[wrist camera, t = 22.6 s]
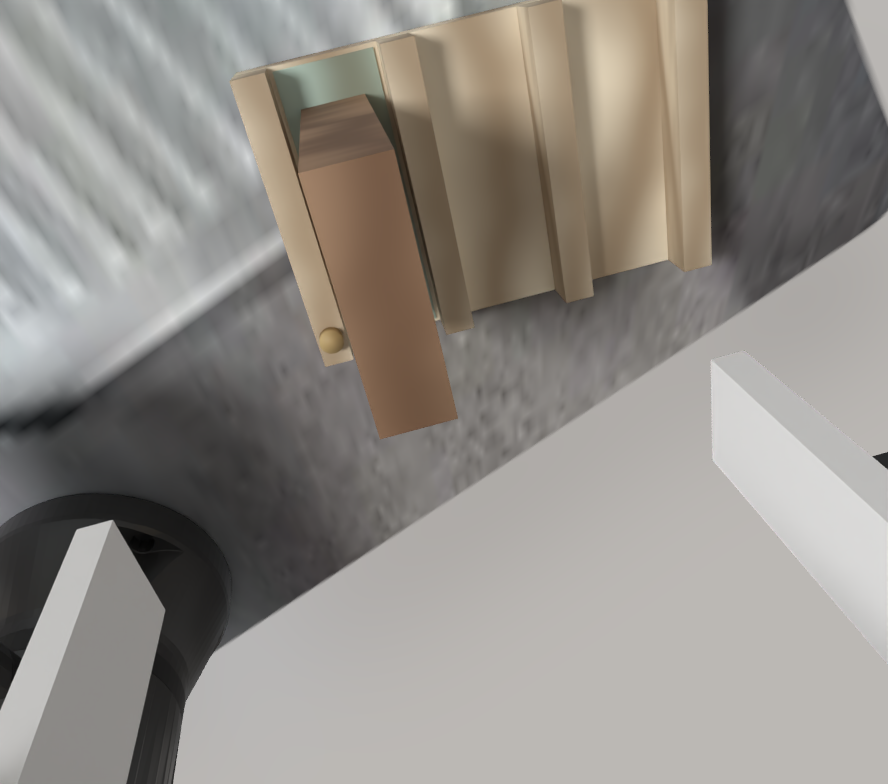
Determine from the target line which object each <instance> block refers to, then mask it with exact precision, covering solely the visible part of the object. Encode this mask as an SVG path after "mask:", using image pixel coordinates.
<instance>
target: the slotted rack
mask: <svg viewBox="0 0 888 784" xmlns="http://www.w3.org/2000/svg"><path fill="white" fill-rule="evenodd" d="M230 84H231V87H232V90H233V93H234V96H235V99H236V102H237V105H238V108H239V111H240V114H241V117H242V120H243V123H244V126H245V129H246V132H247V135H248V138H249V141H250V144H251V147H252V150H253V153H254V156H255V159H256V162H257V165H258V168H259V171H260V174H261V177H262V180H263V183H264V186H265V188H266V191H267V194H268V197H269V200H270V203H271V206H272V209H273V212H274V215H275V218H276V221H277V224H278V227H279V230H280V233H281V236H282V239H283V242H284V245H285V248H286V251H287V254H288V257H289V260H290V263H291V266H292V269H293V272H294V275H295V278H296V281H297V284H298V287H299V290H300V293H301V296H302V299H303V302H304V305H305V307H306V310H307V313H308V316H309V319H310V322H311V325H312V328H313V331H314V334H315V337H316V340H317V343H318V346H319V349H320V352H321V355H322V358H323V361H324V364H325V367H327V366H331V365H335V364H338V363H342V362H346V361H350V360H353V351H352V346H351V343H350V340H349V337H348V333H347V330H346V327H345V324H344V321H343V317H342V314H341V311H340V308H339V304H338V301H337V298H336V295H335V291H334V288H333V285H332V282H331V279H330V275H329V272H328V269H327V266H326V262H325V259H324V256H323V253H322V249H321V246H320V243H319V240H318V236H317V233H316V230H315V227H314V224H313V220H312V217H311V214H310V211H309V207H308V204H307V201H306V198H305V194H304V191H303V188H302V185H301V182H300V178H299V175H298V162H299V141H300V120H301V109H305V108H309V107H313V106H317V105H321V104H325V103H329V102H333V101H337V100H341V99H345V98H349V97H353V96H357V95H361V94H365V95H366V97H367V99H368V101H369V103H370V105H371V106H372V108H373V110H374V112H375V114H376V116H377V118H378V120H379V121H380V123H381V125H382V127H383V129H384V131H385V133H386V135H387V136H388V138H389V140H390V142H391V144H392V146H393V148H394V150H395V155H396V159H397V163H398V167H399V172H400V176H401V180H402V184H403V188H404V193H405V197H406V201H407V205H408V210H409V214H410V218H411V222H412V226H413V231H414V235H415V239H416V243H417V248H418V252H419V256H420V260H421V264H422V269H423V273H424V277H425V281H426V286H427V290H428V294H429V298H430V302H431V307H432V311H433V315H434V319H435V321H437V320H441V322H442V324H443V327H444V329H445V332H446V334H447V335H448V334H452V333H456V332H459V331H463V330H467V329H471V328H474V323H473V318H472V313H471V311H475V310H479V309H483V308H487V307H490V306H494V305H498V304H502V303H506V302H509V301H513V300H517V299H521V298H525V297H528V296H532V295H536V294H540V293H544V292H547V291H551V290H556V291H557V292H558V294H559V295H560V296H561V297H562V298H563V300H564V301H565V302H566V303H569V302H573V301H577V300H581V299H584V298H588V297H592V296H594V293H593V284H592V280H593V279H597V278H601V277H604V276H608V275H612V274H616V273H619V272H623V271H627V270H631V269H635V268H638V267H642V266H646V265H650V264H654V263H657V262H661V261H665V260H669V261H671V262H672V263H673V264H675V265H676V266H677V267H679V268H680V269H681V270H683V271H684V272H687V271H690V270H694V269H698V268H702V267H706V266H709V265H712V258H711V195H710V132H709V69H708V6H707V0H529V1H525V2H521V3H517V4H512V5H508V6H504V7H500V8H496V9H492V10H488V11H484V12H480V13H476V14H472V15H468V16H464V17H460V18H456V19H452V20H448V21H444V22H440V23H436V24H432V25H427V26H423V27H419V28H415V29H411V30H407V31H403V32H399V33H395V34H391V35H387V36H383V37H379V38H375V39H371V40H367V41H363V42H359V43H355V44H351V45H347V46H342V47H338V48H334V49H330V50H326V51H322V52H318V53H314V54H310V55H306V56H302V57H298V58H294V59H290V60H286V61H282V62H278V63H274V64H270V65H266V66H262V67H257V68H253V69H249V70H245V71H241V72H237V73H236V74H235V75H234V76H233V78H232V79H231V80H230Z"/></svg>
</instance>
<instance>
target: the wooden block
mask: <svg viewBox="0 0 888 784" xmlns="http://www.w3.org/2000/svg"><path fill="white" fill-rule="evenodd" d="M298 175H299V178H300V182H301V185H302V188H303V191H304V194H305V198H306V201H307V204H308V207H309V211H310V214H311V217H312V220H313V224H314V227H315V230H316V233H317V236H318V240H319V243H320V246H321V249H322V253H323V256H324V259H325V262H326V266H327V269H328V272H329V275H330V279H331V282H332V285H333V288H334V291H335V295H336V298H337V301H338V304H339V308H340V311H341V314H342V317H343V321H344V324H345V327H346V330H347V333H348V337H349V340H350V343H351V346H352V350H353V353H354V356H355V359H356V363H357V366H358V369H359V372H360V375H361V379H362V382H363V385H364V388H365V392H366V395H367V398H368V401H369V405H370V408H371V411H372V414H373V418H374V421H375V424H376V427H377V430H378V434H379V437H380V439H383V438H387V437H391V436H394V435H398V434H402V433H406V432H409V431H413V430H417V429H420V428H424V427H428V426H432V425H435V424H439V423H443V422H446V421H450V420H454V419H458V417H457V412H456V408H455V404H454V400H453V395H452V391H451V387H450V383H449V378H448V374H447V370H446V366H445V362H444V357H443V353H442V349H441V345H440V340H439V336H438V332H437V328H436V324H435V319H434V315H433V311H432V307H431V302H430V298H429V294H428V290H427V286H426V281H425V277H424V273H423V269H422V264H421V260H420V256H419V252H418V248H417V243H416V239H415V235H414V231H413V226H412V222H411V218H410V214H409V210H408V205H407V201H406V197H405V193H404V188H403V184H402V180H401V176H400V172H399V167H398V163H397V159H396V155H395V150H394V148H393V146H392V144H391V142H390V140H389V138H388V136H387V135H386V133H385V131H384V129H383V127H382V125H381V123H380V121H379V120H378V118H377V116H376V114H375V112H374V110H373V108H372V106H371V105H370V103H369V101H368V99H367V97H366V95H365V94H361V95H357V96H353V97H349V98H345V99H341V100H337V101H333V102H329V103H325V104H321V105H317V106H313V107H309V108H305V109H301V120H300V141H299V162H298Z"/></svg>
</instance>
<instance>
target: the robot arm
mask: <svg viewBox="0 0 888 784" xmlns="http://www.w3.org/2000/svg"><path fill="white" fill-rule="evenodd" d="M711 404H712V460H713V461H714V462H715V464H717V466H718V467H719V468H720V469H721V471H722V472H723V473H724V474H725V475H726V476H727V477H728V479H729V480H730V481H731V482H732V483H733V485H734V486H735V487H736V488H737V489H738V490H739V491H740V493H741V494H742V495H743V496H744V497H745V499H746V500H747V501H748V502H749V503H750V504H751V506H752V507H753V508H754V509H755V510H756V512H757V513H758V514H759V515H760V516H761V517H762V518H763V520H764V521H765V522H766V523H767V524H768V525H769V527H770V528H771V529H772V530H773V531H774V533H775V534H776V535H777V536H778V537H779V538H780V539H781V541H782V542H783V543H784V544H785V545H786V547H788V549H789V550H790V551H791V552H792V553H793V555H794V556H795V557H796V558H797V559H798V560H799V562H800V563H801V564H802V565H803V566H804V568H805V569H806V570H807V571H808V572H809V573H810V575H811V576H812V577H813V578H814V579H815V580H816V582H818V584H819V585H820V586H821V587H822V588H823V590H824V591H825V592H826V593H827V594H828V596H829V597H830V598H831V599H832V600H833V601H834V602H835V604H836V605H837V606H838V607H839V608H840V610H841V611H842V612H843V613H844V614H845V615H846V617H847V618H848V619H849V620H850V621H851V623H852V624H853V625H854V626H855V627H856V628H857V630H858V631H859V632H860V633H861V634H862V635H863V637H864V638H865V639H866V640H867V641H868V642H869V644H871V646H872V647H873V648H874V649H875V651H876V652H877V653H878V654H879V655H880V656H881V658H882V659H883V660H884V661H885V662H886V663H887V664H888V452H887V453H883V454H880V455H876V456H871V455H869V454H868V453H867V452H866V451H865V450H864V449H862V448H861V447H860V446H859V445H858V444H856V443H855V442H854V441H853V440H852V439H850V438H849V437H848V436H847V435H845V434H844V433H843V432H842V431H841V430H840V429H838V428H837V427H836V426H835V425H834V424H832V423H831V422H830V421H829V420H827V419H826V418H825V417H824V416H823V415H822V414H820V413H819V412H818V411H817V410H816V409H814V408H813V407H812V406H811V405H810V404H808V403H807V402H806V401H805V400H804V399H802V398H801V397H800V396H799V395H798V394H796V393H795V392H794V391H793V390H792V389H790V388H789V387H788V386H787V385H786V384H784V383H783V382H782V381H781V380H780V379H778V378H777V377H776V376H775V375H773V374H772V373H771V372H770V371H769V370H768V369H766V368H765V367H764V366H763V365H762V364H760V363H759V362H758V361H757V360H756V359H754V358H753V357H752V356H751V355H750V354H748V353H747V352H746V351H745V350H743V351H740V352H736V353H732V354H728V355H725V356H721V357H718V358H714V359H711ZM231 591H232V583H231V576H230V572H229V568H228V565H227V563H226V560H225V558H224V556H223V555H222V553H221V551H220V550H219V548H218V547H217V545H216V544H215V543H214V542H213V540H212V539H211V538H210V537H209V536H208V535H207V534H206V533H205V532H204V531H203V530H202V529H200V528H199V527H198V526H197V525H195V524H194V523H193V522H191V521H190V520H188V519H187V518H185V517H183V516H182V515H180V514H178V513H176V512H174V511H172V510H170V509H168V508H165V507H163V506H160V505H158V504H155V503H152V502H149V501H145V500H141V499H137V498H133V497H127V496H120V495H110V494H83V495H74V496H67V497H61V498H57V499H53V500H49V501H46V502H43V503H40V504H38V505H35V506H33V507H30V508H28V509H26V510H24V511H22V512H20V513H19V514H17V515H15V516H14V517H12V518H11V519H9V520H8V521H7V522H5V523H4V524H3V525H2V526H1V527H0V784H173V779H174V772H175V766H176V758H177V752H178V745H179V739H180V732H181V725H182V719H183V713H184V707H185V702H186V700H187V698H188V696H189V695H190V693H191V691H192V689H193V687H194V686H195V684H196V682H197V680H198V678H199V676H200V675H201V673H202V671H203V669H204V667H205V665H206V663H207V662H208V660H209V658H210V657H211V655H212V654H213V652H214V651H215V649H216V648H217V646H218V645H219V643H220V641H221V639H222V637H223V634H224V632H225V629H226V625H227V622H228V616H229V609H230V601H231Z"/></svg>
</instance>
